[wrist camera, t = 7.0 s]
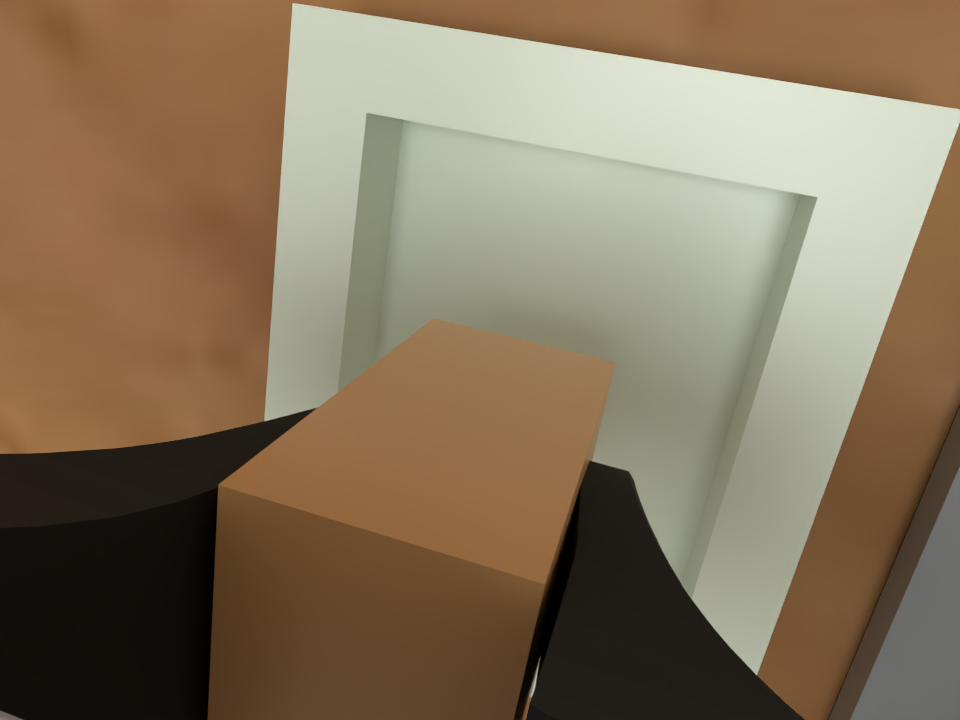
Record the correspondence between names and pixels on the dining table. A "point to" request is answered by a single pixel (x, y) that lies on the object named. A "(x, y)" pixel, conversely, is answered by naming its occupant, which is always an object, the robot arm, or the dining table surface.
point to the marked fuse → (406, 536)
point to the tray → (610, 259)
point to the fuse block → (916, 615)
